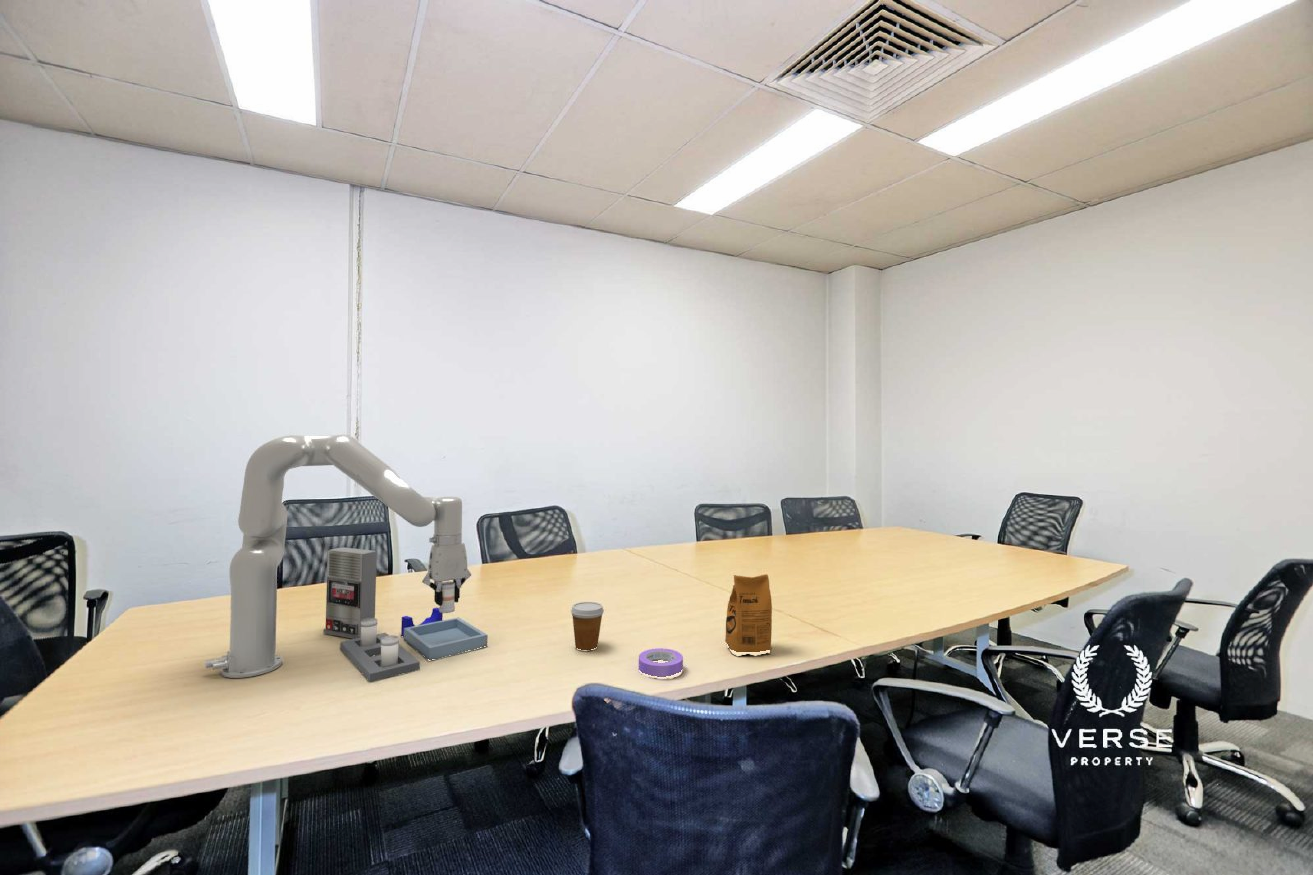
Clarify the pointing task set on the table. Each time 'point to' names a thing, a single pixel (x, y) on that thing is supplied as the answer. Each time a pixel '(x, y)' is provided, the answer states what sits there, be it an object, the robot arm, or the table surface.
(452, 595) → the marked fuse
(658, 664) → the masking tape
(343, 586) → the cassette tape recorder
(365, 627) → the cylinder
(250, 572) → the robot arm
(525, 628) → the table surface
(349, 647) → the fuse holder
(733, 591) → the coffee package
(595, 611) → the disposable coffee cup
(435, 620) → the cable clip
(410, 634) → the tray
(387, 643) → the cylinder
